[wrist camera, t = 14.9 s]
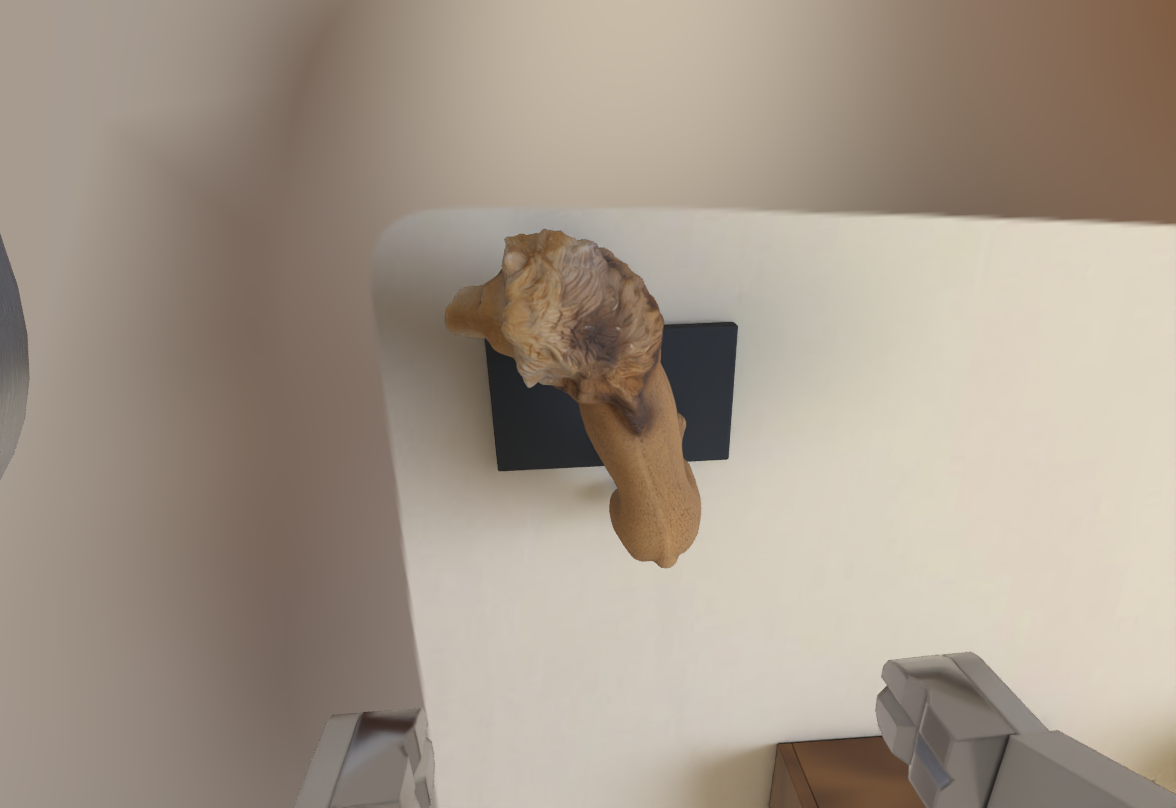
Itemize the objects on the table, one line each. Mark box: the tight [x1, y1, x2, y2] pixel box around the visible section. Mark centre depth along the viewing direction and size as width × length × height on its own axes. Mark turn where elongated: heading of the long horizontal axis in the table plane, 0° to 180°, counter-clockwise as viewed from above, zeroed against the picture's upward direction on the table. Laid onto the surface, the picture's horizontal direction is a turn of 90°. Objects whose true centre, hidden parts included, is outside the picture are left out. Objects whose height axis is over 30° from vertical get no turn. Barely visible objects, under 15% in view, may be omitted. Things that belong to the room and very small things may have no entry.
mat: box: [485, 322, 738, 471], centre depth 24 cm, size 10×6×1 cm, turn 92°
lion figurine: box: [445, 229, 701, 568], centre depth 19 cm, size 15×5×9 cm, turn 28°
